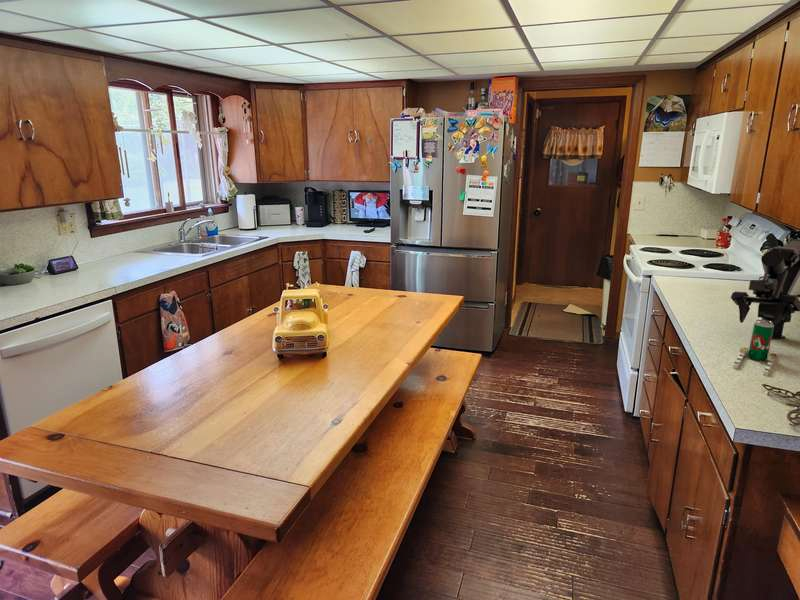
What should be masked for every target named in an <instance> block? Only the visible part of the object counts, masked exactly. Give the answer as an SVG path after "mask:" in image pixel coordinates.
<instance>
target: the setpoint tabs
mask: <svg viewBox="0 0 800 600" xmlns="http://www.w3.org/2000/svg"><path fill="white" fill-rule="evenodd" d="M746 350H747V349H745V348H744V347H740V349H739V353H740V354H741V353H746ZM746 354H747V353H746ZM770 359H774V361H777V359H778V355H775V354H772V353H771V355H770V358H769V360H770Z"/></svg>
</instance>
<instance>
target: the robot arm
mask: <svg viewBox="0 0 800 600" xmlns="http://www.w3.org/2000/svg"><path fill="white" fill-rule="evenodd" d="M760 260H761V265H762V270H763V271H764V275H763V276H762V277H763V278H762V279H760V280H759V279H750V280H749V284H748V285H749V286H748V291H752V294H753V295H755V296H751V295H749V294H748V292H746V291H736V290H735V291H733V292H732V293H731V295H730V299H731V300H732V302H733V303H734V304H735V305H736V306H738V311H739V322H740V323H744V321H745V319H746V318H747V316H748V314H749V311H750V310H751V308H750V306H751V305H752V303H753V304H754V303H755V304H758V308H757V318H761V320H767V321H771V322H773V326H774V330H773V334H772V339H771V340H773V339H786V336H785V335H783V331H784V327H785V326H784V325H785V324H787V323H790V322H791V321H792V314H795V312H800V299H799V298H798V297H797V295H792V294H791V293H792V292H793V289H794V287H795V286H796V283H797V282H798V279H799V278H800V239H797V238H793V239H790V240H789V241H788V242H787V244H785V245H783V246H774V247H772V248H771V249H770V250H768V251H767V252H765V253H764V254H762V256H761V258H760Z"/></svg>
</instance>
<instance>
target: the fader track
mask: <svg viewBox="0 0 800 600" xmlns="http://www.w3.org/2000/svg"><path fill="white" fill-rule="evenodd" d="M749 347H750V346H747V345H746V346H744V347H743V348H745V349H747V350H746V353H740V354H738V356H737V358H736V360H735V361H734V363H733V365H732V366H733V367H732V369H735V370H737V369H738V367H740V364H741V363H742V361H743V359H744V358H745V357H746V355H747V354H748V352H749ZM771 354H775V355H777V354H778V352H775V351H773V352H772V353H771ZM777 356H778V355H777ZM774 362H775V360H774V359H770V358H769V360H768V362H767V363H766V365H765V368H764V370H763V373H762V375H763V376H766V377H768V375H769V373H770V371H771V369H772V367H773V364H774Z"/></svg>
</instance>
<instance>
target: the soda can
mask: <svg viewBox="0 0 800 600" xmlns="http://www.w3.org/2000/svg"><path fill="white" fill-rule="evenodd" d="M773 330H774V326H773V322H771V321H767V320H762V319H756V320H755V322H754V324H753V328H752V332H751V338H750V343H749V346H748V347H749V349H748V352H747V356H748V357H749V359H751V360H753V361H758V362H765V361H767V360H768V358H769V353H770V348H771V342H772V340H773V339H772V334H773Z"/></svg>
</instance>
